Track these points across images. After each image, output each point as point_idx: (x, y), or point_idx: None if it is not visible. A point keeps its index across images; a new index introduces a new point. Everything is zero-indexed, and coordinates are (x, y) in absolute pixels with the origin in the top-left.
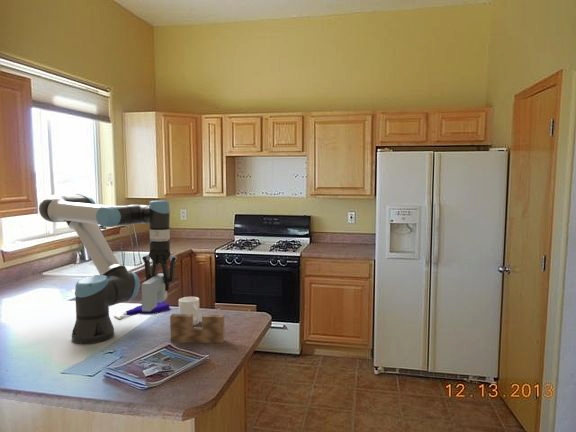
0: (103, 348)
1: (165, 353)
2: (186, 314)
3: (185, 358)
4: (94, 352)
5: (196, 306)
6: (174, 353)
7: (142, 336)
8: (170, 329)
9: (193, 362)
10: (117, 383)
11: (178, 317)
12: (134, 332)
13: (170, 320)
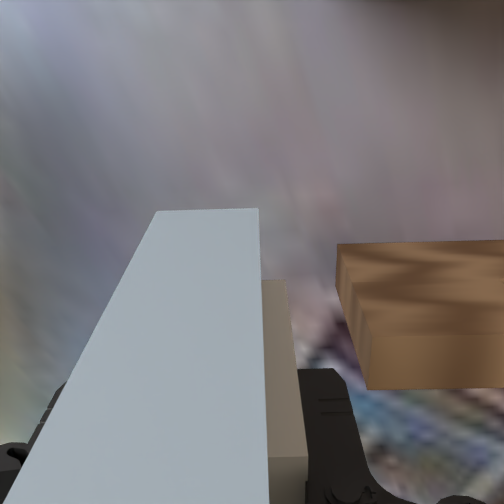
0: (27, 380)
1: (352, 408)
2: (496, 344)
3: (456, 444)
4: (21, 419)
5: None
6: (395, 406)
7: (126, 215)
8: (348, 327)
9: (495, 471)
10: None
11: (432, 382)
12: (30, 148)
13: (362, 368)
